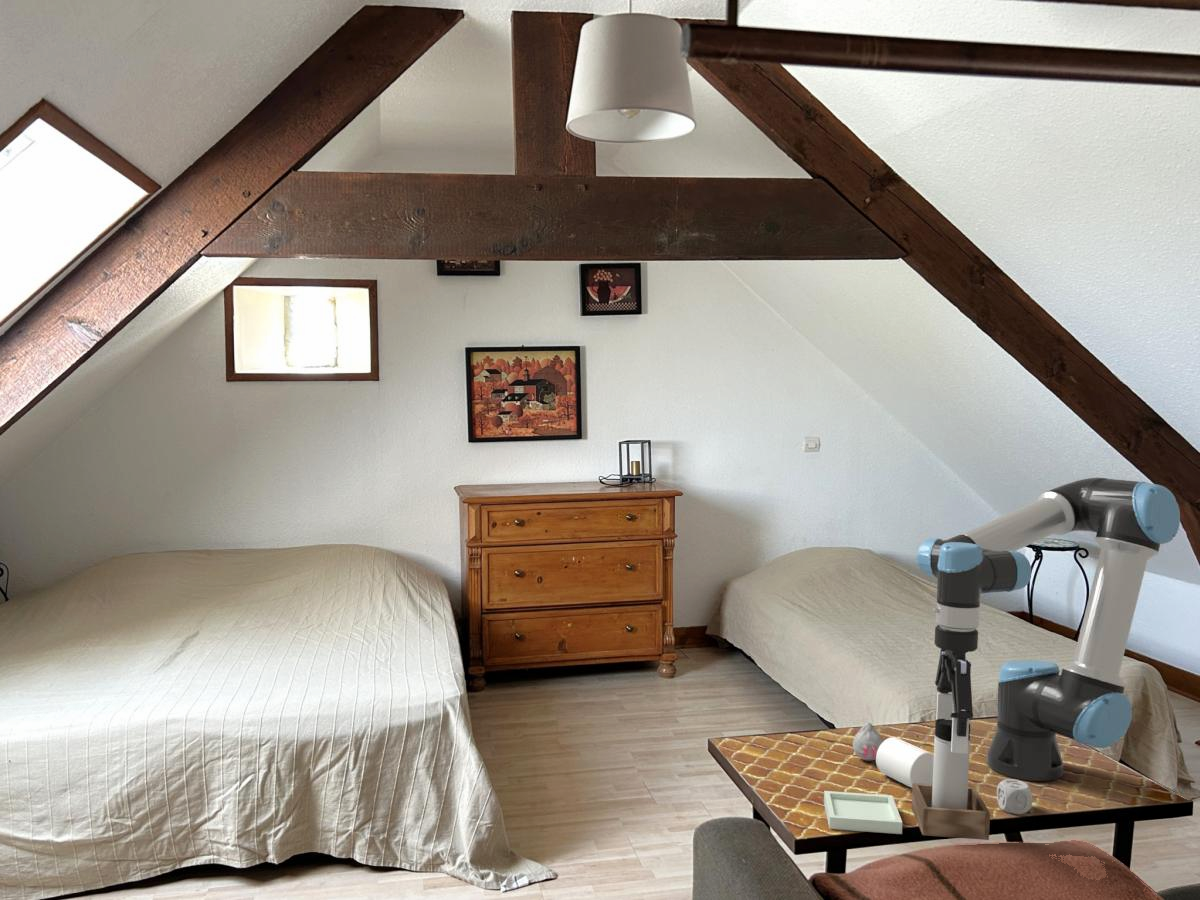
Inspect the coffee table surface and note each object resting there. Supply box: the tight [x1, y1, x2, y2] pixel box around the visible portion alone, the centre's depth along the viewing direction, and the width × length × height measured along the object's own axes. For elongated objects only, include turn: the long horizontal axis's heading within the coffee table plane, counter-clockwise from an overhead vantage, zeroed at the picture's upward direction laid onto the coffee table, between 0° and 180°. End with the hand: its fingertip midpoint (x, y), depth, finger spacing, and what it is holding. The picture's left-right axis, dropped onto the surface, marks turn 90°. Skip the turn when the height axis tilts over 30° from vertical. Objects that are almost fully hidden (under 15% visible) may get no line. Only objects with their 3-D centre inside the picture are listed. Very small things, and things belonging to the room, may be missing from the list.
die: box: [996, 778, 1033, 815], centre depth 194 cm, size 5×5×5 cm
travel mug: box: [932, 719, 971, 810], centre depth 187 cm, size 6×7×20 cm
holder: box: [911, 783, 991, 841], centre depth 187 cm, size 12×12×5 cm
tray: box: [823, 790, 903, 835], centre depth 189 cm, size 13×12×2 cm
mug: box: [875, 736, 934, 789], centre depth 207 cm, size 12×10×8 cm
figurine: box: [852, 722, 884, 762], centre depth 218 cm, size 6×7×8 cm
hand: (951, 739), depth 186 cm, fingers open, 13 cm apart
